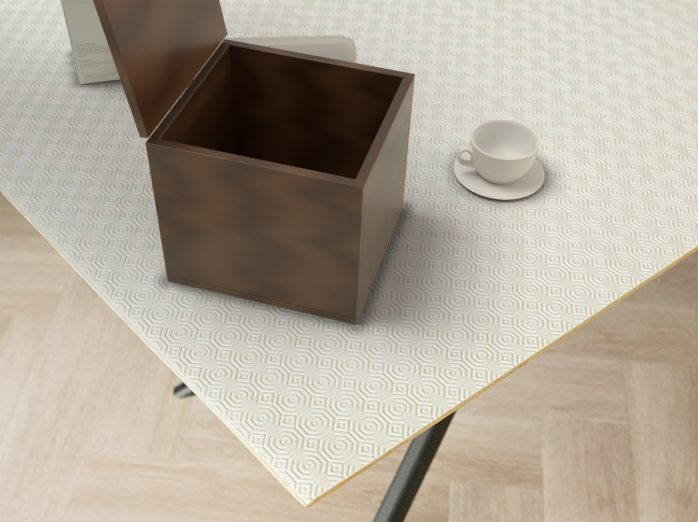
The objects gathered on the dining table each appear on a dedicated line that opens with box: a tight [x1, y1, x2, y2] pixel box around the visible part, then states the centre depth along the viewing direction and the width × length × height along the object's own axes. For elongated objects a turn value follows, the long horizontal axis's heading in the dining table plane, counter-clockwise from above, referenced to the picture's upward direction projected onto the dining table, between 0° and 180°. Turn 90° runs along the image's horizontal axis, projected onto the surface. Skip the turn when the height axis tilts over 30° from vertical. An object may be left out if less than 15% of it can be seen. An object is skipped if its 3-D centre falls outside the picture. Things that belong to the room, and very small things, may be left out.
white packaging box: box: [60, 0, 121, 85], centre depth 108 cm, size 7×7×13 cm
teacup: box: [453, 118, 546, 201], centre depth 98 cm, size 10×10×5 cm
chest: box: [145, 39, 416, 326], centre depth 86 cm, size 19×18×16 cm
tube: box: [192, 34, 358, 81], centre depth 110 cm, size 5×5×25 cm
